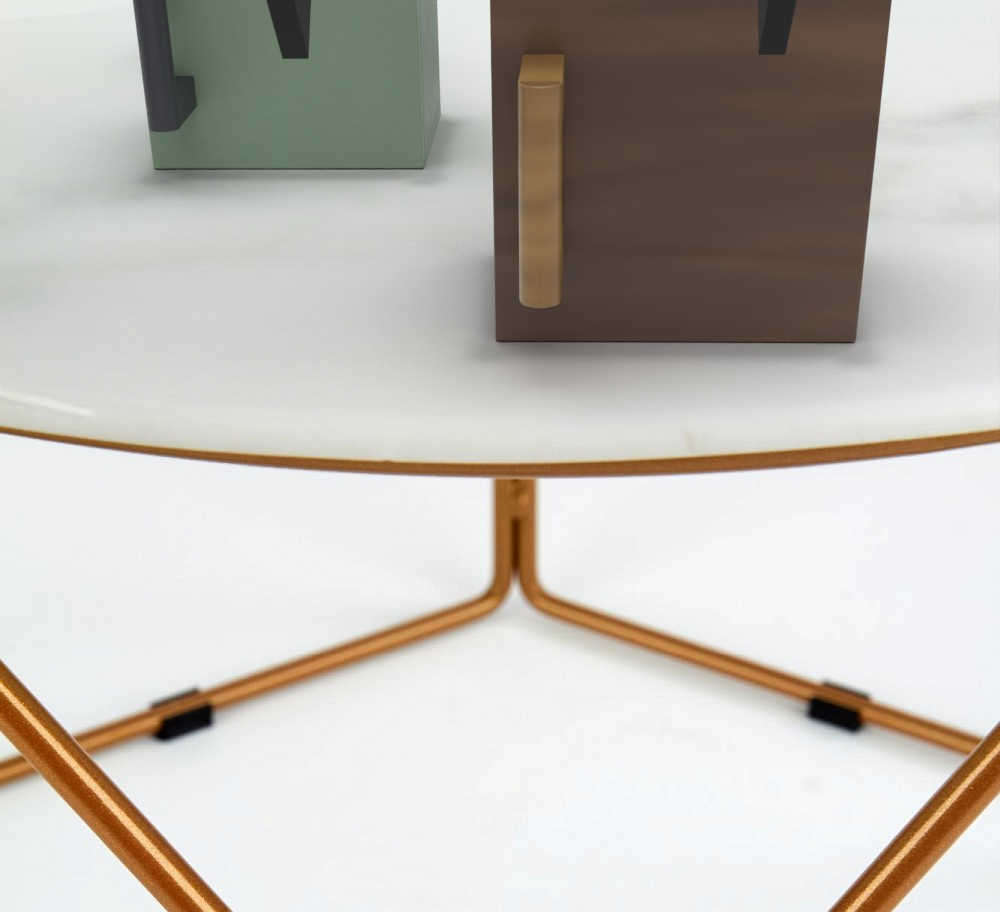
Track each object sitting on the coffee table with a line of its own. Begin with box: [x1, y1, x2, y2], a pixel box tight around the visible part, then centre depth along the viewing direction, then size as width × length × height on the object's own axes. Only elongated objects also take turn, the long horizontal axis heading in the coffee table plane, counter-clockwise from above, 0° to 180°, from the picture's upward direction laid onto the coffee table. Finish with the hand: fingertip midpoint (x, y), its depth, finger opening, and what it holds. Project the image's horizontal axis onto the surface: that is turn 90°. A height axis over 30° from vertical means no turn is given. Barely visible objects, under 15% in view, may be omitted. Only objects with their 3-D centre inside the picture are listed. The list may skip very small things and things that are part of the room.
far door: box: [132, 0, 426, 170], centre depth 87 cm, size 6×15×14 cm, turn 87°
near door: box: [489, 0, 893, 343], centre depth 65 cm, size 6×15×14 cm, turn 87°
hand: (532, 15), depth 49 cm, fingers open, 13 cm apart
